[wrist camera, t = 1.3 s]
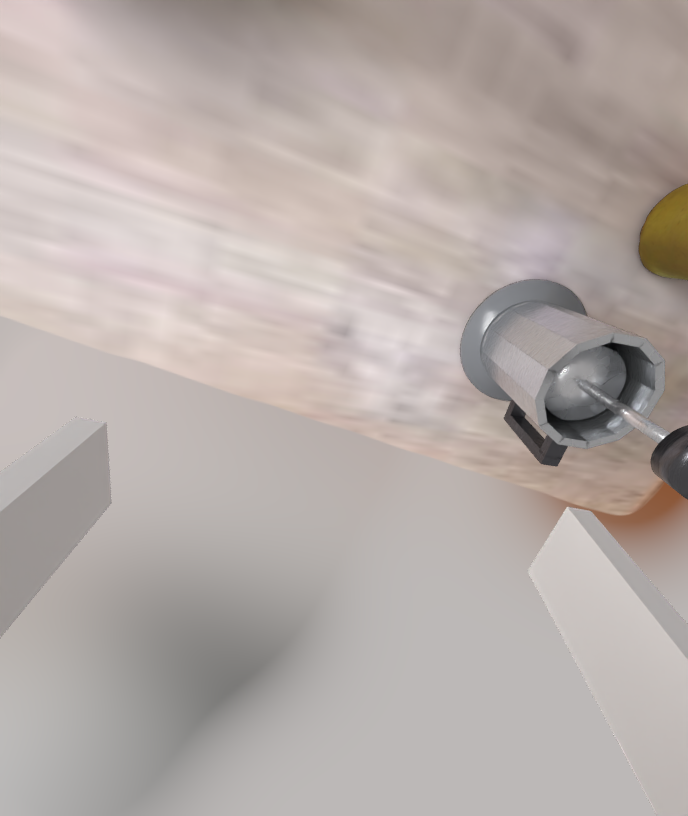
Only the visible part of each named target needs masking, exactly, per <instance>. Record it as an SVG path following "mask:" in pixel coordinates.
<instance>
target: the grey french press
mask: <svg viewBox="0 0 688 816" xmlns="http://www.w3.org/2000/svg"><path fill="white" fill-rule="evenodd" d="M601 345H603V346H605V347H607V348H610V349H612V350H613V351H615V352H617V353H618V354H619V355H620V356H621V358H622V359H623V361H624V363H625V367H626V380H625V384H624V387H623V389H622V391H621V393H620V394H619V396H618V397H617V399H618V400H619V401H621V402H622V403H624V404H625V405H627V406H629V407H630V408H632V409H633V410H635V411H636V412H638V413H640V414H641V415H643V416H644V417H646V418H648V417H649V415H650V413H651V412H652V410H653V408H654V407H655V405H656V403H657V402H658V400H659V399H660V397H661V395H662V394H663V392H664V389H665V360H664V359H663V358H662V356H661V355H660V354H659V353H658V352H657V350H656V349H655V348H654V347H653V346H652V345H651V343H650V342H649V341H648V340H647V339H646V338H643V337H641V336H638V335H635V334H633V333H630V332H627V331H625V330H622V329H619V328H617V327H614V326H611V325H609V324H606V323H603V322H601V321H598V320H595V319H593V318H590V317H587V316H585V315H582V314H579V313H577V312H574V311H572V310H569V309H566V308H564V307H561V306H558V305H554V304H549V303H546V302H542V301H524V302H520V303H517V304H514V305H512V306H510V307H508V308H506V309H505V310H503V311H502V312H501V313H499V314H498V315H497V316H496V317H495V318H494V319H493V320H492V321H491V323H490V324H489V326H488V327H487V329H486V331H485V333H484V335H483V337H482V341H481V346H480V356H481V361H482V364H483V366H484V368H485V370H486V372H487V374H488V375H489V376H490V377H491V378H492V379H493V380H494V381H495V382H496V383H497V384H498V385H499V386H500V387H501V388H502V389H503V390H504V391H505V392H506V393H507V394H508V395H509V396H510V397H511V398H512V400H511V402H510V405H509V407H508V410H507V412H506V414H505V417H504V420H505V421H506V422H507V423H508V425H509V426H510V427H511V428H512V429H513V431H514V432H515V433H516V434H517V436H518V437H519V438H520V439H521V440H522V442H523V443H524V444H525V445H526V446H527V448H528V449H529V450H530V451H531V453H532V454H533V455H534V456H535V457H536V459H537V460H538V461H539V462H540V463H541V464H544V465H551V466H558V464H559V462H560V460H561V458H562V456H563V454H564V452H565V451H566V449H567V447H568V446H572V447H578V448H584V449H588V448H592V447H595V446H599V445H603V444H606V443H610V442H613V441H617V440H619V439H621V438H622V437H623V436H625V435H626V434H628V433H629V432H630V431H632V430H633V429H634V428H635V427H634V426H632V425H631V424H630V423H628V422H627V421H625V420H624V419H622V418H621V417H620V416H618V415H617V414H615V413H614V412H612V411H611V410H609V409H608V408H606V409H605V410H604V411H602V412H600V413H599V414H597V415H595V416H592V417H590V418H587V419H582V420H565V419H562V418H559V417H557V416H555V415H554V414H552V413H551V412H550V411H549V410H548V409H547V408H546V407H545V403H544V398H545V396H546V394H547V391H548V389H549V387H550V385H551V383H552V380H553V378H554V376H555V374H556V373H557V372H558V371H559V370H560V369H561V368H562V367H564V366H565V365H566V364H567V363H568V362H569V361H571V360H572V359H573V358H574V357H575V356H576V355H578V354H579V353H580V352H582V351H585V350H588V349H591V348H594V347H598V346H601ZM525 414H527V415H528V416H529V417H530V418H531V419H532V420H533V421H534V422H535V423H536V424H537V425H538V426H539V427H540V428H541V429H542V430H543V431H544V432H545V433H546V434H547V436H546V438H545V439H544V438H543V437H542V436H541V435H540V434H539V433H538V432H537V431H536V429H535V428H534V427H533V426H532V425H531V424H530V423H529V422H528V421H527V420H526V419H525V418H524V417H525Z"/></svg>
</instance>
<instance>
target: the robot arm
mask: <svg viewBox="0 0 688 816" xmlns="http://www.w3.org/2000/svg"><path fill="white" fill-rule="evenodd" d="M110 504H111V487H110V470H109V456H108V440H107V424H106V422H102V421H96V420H91V419H85V418H80V417H75V418H73V419H72V420H71V421H69V422H68V423H66V424H65V425H64V426H62V427H61V428H60V429H58V430H57V431H55V432H54V433H53V434H51V435H50V436H49V437H47V438H46V439H44V440H43V441H42V442H40V443H39V444H38V445H36V446H35V447H33V448H32V449H31V450H29V451H28V452H26V453H25V454H24V455H23V456H21V457H20V458H18V459H17V460H15V461H14V462H13V463H12V464H10V465H9V466H7V467H6V468H4V469H3V470H2V471H0V638H1V637H2V635H3V634H4V633H5V632H6V630H7V629H8V628H9V627H10V626H11V624H12V623H13V622H14V621H15V620H16V618H17V617H18V616H19V615H20V614H21V612H22V611H23V610H24V609H25V607H26V606H27V605H28V604H29V603H30V601H31V600H32V599H33V598H34V597H35V595H36V594H37V593H38V592H39V590H40V589H41V588H42V587H43V586H44V584H45V583H46V582H47V581H48V580H49V578H50V577H51V576H52V575H53V574H54V572H55V571H56V570H57V569H58V567H59V566H60V565H61V564H62V563H63V561H64V560H65V559H66V558H67V557H68V555H69V554H70V553H71V552H72V550H73V549H74V548H75V547H76V546H77V544H78V543H79V542H80V540H82V538H83V537H84V536H85V535H86V534H87V532H88V531H89V530H90V528H91V527H92V526H93V525H94V524H95V523H96V521H97V520H98V519H99V518H100V517H101V515H102V514H103V513H104V512H105V510H106V509H107V508H108V507H109V506H110ZM528 573H529V575H530V577H531V579H532V580H533V583H534V584H535V586H536V588H537V590H538V592H539V594H540V596H541V598H542V600H543V602H544V603H545V605H546V607H547V609H548V611H549V613H550V615H551V617H552V619H553V621H554V622H555V624H556V626H557V628H558V630H559V632H560V634H561V636H562V637H563V639H564V641H565V643H566V645H567V647H568V649H569V651H570V653H571V655H572V656H573V658H574V660H575V662H576V664H577V666H578V668H579V670H580V672H581V674H582V675H583V677H584V679H585V681H586V683H587V685H588V687H589V689H590V691H591V692H592V694H593V696H594V698H595V700H596V702H597V704H598V706H599V708H600V710H601V711H602V713H603V715H604V717H605V719H606V721H607V723H608V725H609V727H610V728H611V730H612V732H613V734H614V736H615V738H616V740H617V742H618V744H619V745H620V747H621V749H622V751H623V753H624V755H625V757H626V759H627V760H628V763H629V764H630V766H631V768H632V770H633V772H634V774H635V776H636V778H637V780H638V781H639V783H640V785H641V787H642V789H643V791H644V793H645V795H646V797H647V798H648V800H649V802H650V804H651V806H652V808H653V810H654V812H655V814H656V816H688V624H687V623H686V621H685V620H684V619H683V618H682V617H681V616H680V614H679V613H678V612H677V611H676V610H675V609H674V608H673V606H672V605H671V604H670V603H669V602H668V601H667V599H666V598H665V597H664V596H663V595H662V594H661V593H660V591H659V590H658V589H657V588H656V587H655V586H654V584H653V583H652V582H651V581H650V580H649V578H648V577H647V576H646V575H645V574H644V573H643V571H642V570H641V569H640V568H639V567H638V566H637V565H636V563H635V562H634V561H633V560H632V559H631V557H630V556H629V555H628V554H627V553H626V552H625V550H624V549H623V548H622V547H621V546H620V545H619V543H618V542H617V541H616V540H615V539H614V538H613V536H612V535H611V534H610V533H609V532H608V531H607V529H606V528H605V527H604V526H603V525H602V524H601V522H600V521H599V520H598V519H597V518H596V517H595V515H593V513H592V512H591V511H587V510H582V509H577V508H571V507H567V508H566V510H565V511H564V513H563V514H562V516H561V518H560V519H559V521H558V522H557V524H556V526H555V527H554V529H553V530H552V532H551V534H550V535H549V537H548V539H547V540H546V542H545V543H544V545H543V547H542V548H541V550H540V552H539V553H538V555H537V557H536V558H535V560H534V561H533V563H532V564H531V566H530V568H529V569H528Z"/></svg>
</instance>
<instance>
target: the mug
mask: <svg viewBox="0 0 688 816" xmlns="http://www.w3.org/2000/svg"><path fill="white" fill-rule="evenodd" d="M639 254H640V258H641V261H642V263H643V265H644V267H646V268H647V269H648V270H649V271H651V272H652V273H654V274H657V275H659V276H662V277H667V278H677V279H684V280H688V184H686V185H683V186H681V187H679V188H677V189H675V190H674V191H672V192H671V193H669V194H668V195H667V196H665V197H664V198H663V199H662V200H661V201H660V202H659V203H658V204H657V205H656V206H655V207H654V208H653V209H652V210H651V212H650V213H649V215H648V216H647V218H646V221H645V223H644V225H643V227H642V229H641V233H640V243H639Z"/></svg>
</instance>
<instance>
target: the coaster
mask: <svg viewBox="0 0 688 816" xmlns="http://www.w3.org/2000/svg"><path fill="white" fill-rule="evenodd" d="M524 301H542V302H546V303H549V304H554V305H558V306H561V307H564V308H566V309H569V310H572V311H574V312H577V313H579V314H582V315H585V316H587V315H586V312H585V309H584V307H583V305H582V303H581V302H580V300H579V299H578V298H577V296H576V295H575V294H574V293H573V292H572V291H570V290H569V289H567V288H566V287H564V286H562V285H560V284H558V283H554V282H551V281H547V280H540V279H530V280H523V281H519V282H515V283H512V284H509V285H507V286H505V287H503V288H501V289H499V290H497V291H496V292H494V293H493V294H491V295H490V296H489V297H487V298H486V299H485V300H484V301H483V302H482V303H481V304H480V305H479V306H478V307H477V309H476V310H475V311H474V312H473V314H472V315H471V317H470V319H469V320H468V322H467V324H466V326H465V329H464V332H463V335H462V339H461V345H460V357H461V363H462V366H463V370H464V372H465V374H466V376H467V377H468V379H469V380H470V381H471V383H472V384H473V385H474V386H475V387H476V388H477V389H478V390H480V391H481V392H482V393H484V394H486V395H488V396H490V397H493V398H495V399H500V400H507V401H511V400H512V398H511V397H510V396H509V395H508V394H507V393H506V392H505V391H504V390H503V389H502V388H501V387H500V386H499V385H498V384H497V383H496V382H495V381H494V380H493V379H492V378H491V377H490V376H489V375H488V374H487V372H486V370H485V368H484V366H483V364H482V361H481V356H480V346H481V341H482V337H483V335H484V333H485V331H486V329H487V327H488V326H489V324H490V323H491V321H492V320H493V319H494V318H495V317H496V316H497V315H498V314H499V313H501V312H502V311H503V310H505V309H506V308H508V307H510V306H512V305H514V304H517V303H520V302H524Z"/></svg>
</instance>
